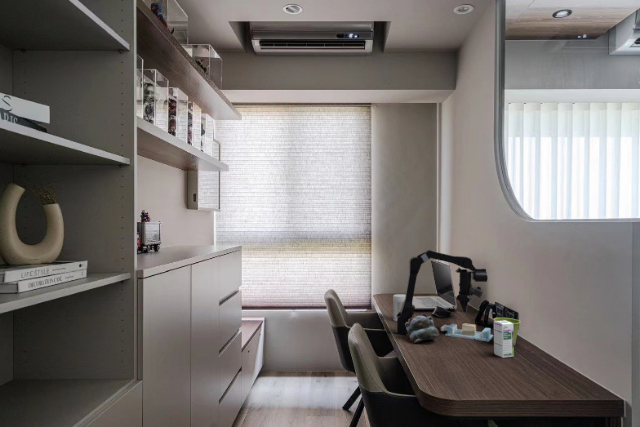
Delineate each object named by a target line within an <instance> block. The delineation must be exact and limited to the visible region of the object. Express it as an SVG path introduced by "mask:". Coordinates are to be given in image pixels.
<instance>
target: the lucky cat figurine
mask: <svg viewBox="0 0 640 427" xmlns="http://www.w3.org/2000/svg"><path fill="white" fill-rule="evenodd" d="M405 326H406V329H407V331H408V334H407V335H408V336H409V341H410V342H411V343H413V344H416V343H419V342H422V341H423V342H424V341H428V340H429V341H431V340H432V341H434V340H435V339H438V338H439V337H440V332H439V329H438V328H436V326H435V323H434V319H433V316H430V315H429V316H427V314H425V313H423V314H422V315H417V316H414V317H412V318H410V319H409V321H408V322H406V323H405Z"/></svg>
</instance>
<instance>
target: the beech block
mask: <svg viewBox="0 0 640 427" xmlns="http://www.w3.org/2000/svg"><path fill="white" fill-rule="evenodd" d="M461 330H462V335H467V336H475V335H476V332H477V324H472V323H466V322H464V323H462V325H461Z"/></svg>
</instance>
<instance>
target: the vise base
mask: <svg viewBox="0 0 640 427" xmlns="http://www.w3.org/2000/svg"><path fill="white" fill-rule="evenodd" d="M444 336H447V337H453V338H460V339H468V340H469V339H470V340H474V339H475V341H482V342H490V341H491V340H492V338H494V334H491V328H490V327H485V328H484V329H483V330H482V331H476V335H475V336H467V335H462V328H461V329H459V328H457V331H456V332H455V333H454V334H450V333H448V331H446V333H445V334H444Z"/></svg>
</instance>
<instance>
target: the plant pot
mask: <svg viewBox="0 0 640 427" xmlns="http://www.w3.org/2000/svg"><path fill="white" fill-rule="evenodd" d="M504 320H505V321H509V322H512V323H513V330H514V346H515V345H516V342H517V339H518V338H517V336H518V332H519V331H518V330H519V328H520V324H521V323H522V322H521V320H519V319H517V318H516V319H515V318H509V317H495V318H493V322H494V321H504Z"/></svg>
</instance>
